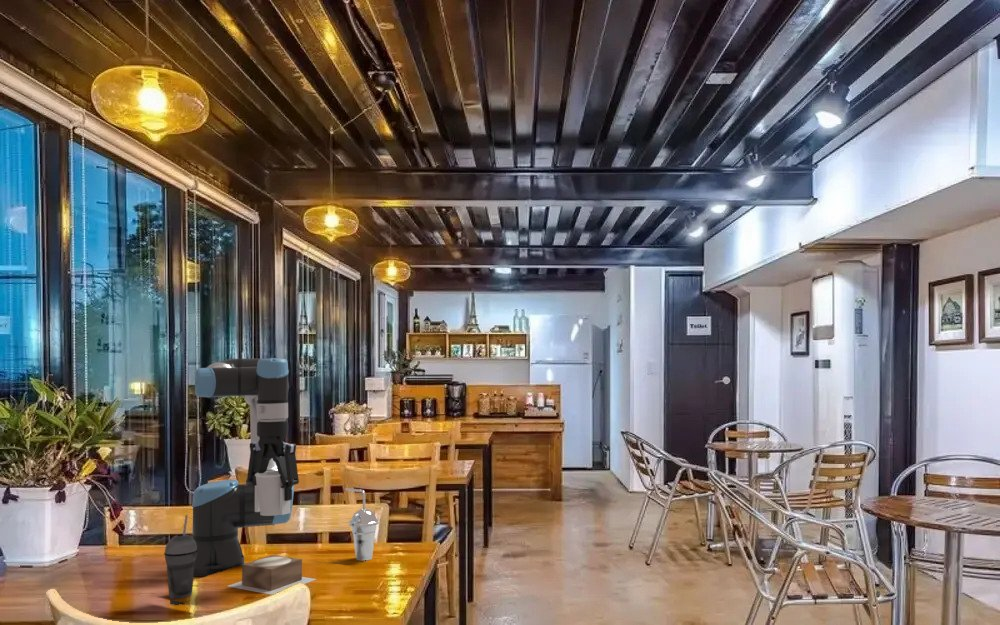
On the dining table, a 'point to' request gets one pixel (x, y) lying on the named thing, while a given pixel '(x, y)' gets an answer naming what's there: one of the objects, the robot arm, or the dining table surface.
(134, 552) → the dining table surface
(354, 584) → the dining table surface
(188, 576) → the beverage cup
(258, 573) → the brown block
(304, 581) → the board
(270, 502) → the dixie cup
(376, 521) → the cup with straw
